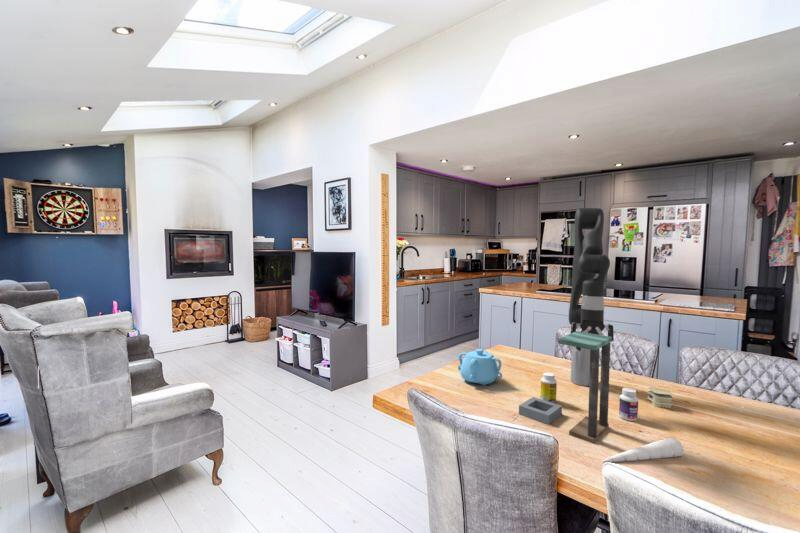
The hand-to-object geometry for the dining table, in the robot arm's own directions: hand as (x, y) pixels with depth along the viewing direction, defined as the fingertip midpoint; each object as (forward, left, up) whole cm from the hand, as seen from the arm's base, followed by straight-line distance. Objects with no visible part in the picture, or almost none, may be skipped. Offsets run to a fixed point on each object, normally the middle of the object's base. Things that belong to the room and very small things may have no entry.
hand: (591, 351), depth 138 cm
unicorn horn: (+29, +24, -20) cm, 43 cm away
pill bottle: (+5, +14, -19) cm, 24 cm away
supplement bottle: (+11, -11, -19) cm, 25 cm away
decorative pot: (+12, -41, -19) cm, 47 cm away
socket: (+24, -8, -19) cm, 32 cm away
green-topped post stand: (+24, +6, -19) cm, 31 cm away
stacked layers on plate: (-15, +19, -20) cm, 31 cm away
